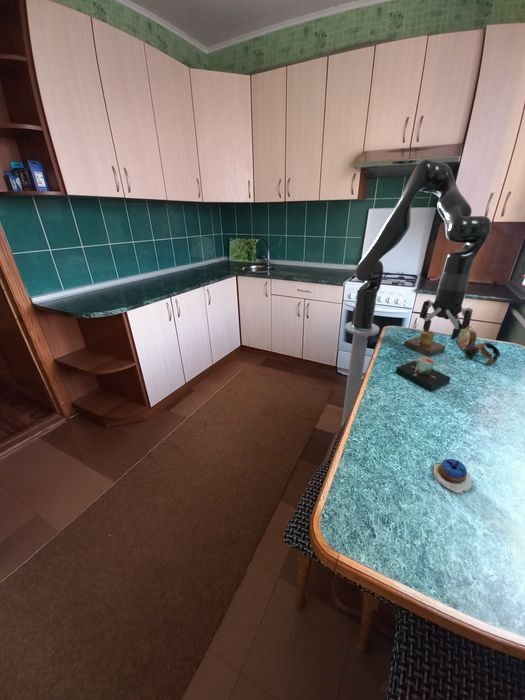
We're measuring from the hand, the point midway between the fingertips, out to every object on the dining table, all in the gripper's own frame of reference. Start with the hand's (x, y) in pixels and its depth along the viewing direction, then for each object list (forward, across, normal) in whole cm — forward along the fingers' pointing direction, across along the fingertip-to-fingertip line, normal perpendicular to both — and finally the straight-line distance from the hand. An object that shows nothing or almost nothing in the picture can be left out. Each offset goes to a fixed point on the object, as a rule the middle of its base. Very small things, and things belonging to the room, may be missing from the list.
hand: (439, 334), depth 97 cm
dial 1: (+14, +12, -22) cm, 29 cm away
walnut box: (+17, +12, -22) cm, 30 cm away
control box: (+17, +1, +2) cm, 17 cm away
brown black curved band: (+17, -6, -28) cm, 33 cm away
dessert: (+17, -24, +39) cm, 49 cm away
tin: (+17, +2, -38) cm, 41 cm away
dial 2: (+14, +1, +2) cm, 14 cm away
